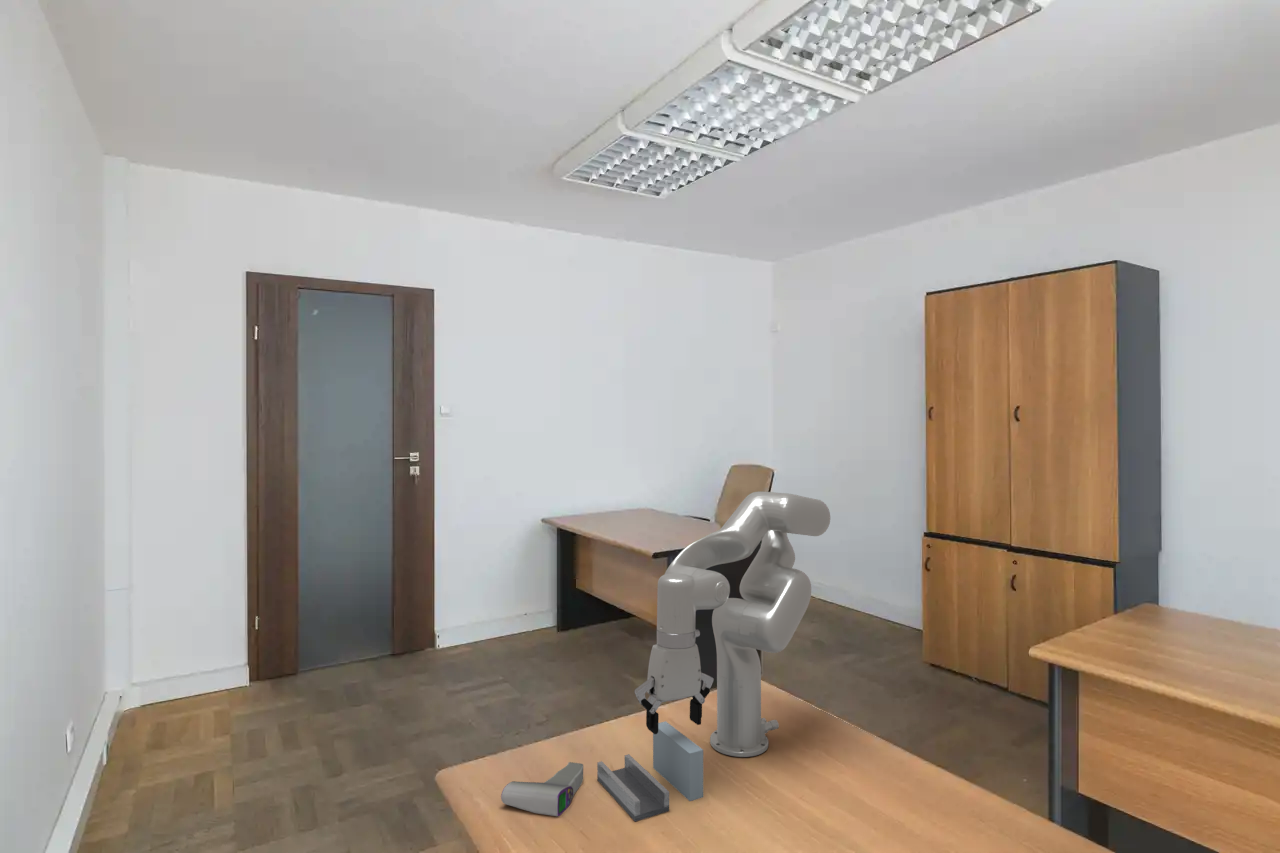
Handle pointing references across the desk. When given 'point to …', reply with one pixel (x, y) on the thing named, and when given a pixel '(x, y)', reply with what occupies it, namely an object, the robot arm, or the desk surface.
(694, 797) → the grey slab
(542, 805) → the infrared thermometer
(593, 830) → the desk surface
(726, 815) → the desk surface
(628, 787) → the track
